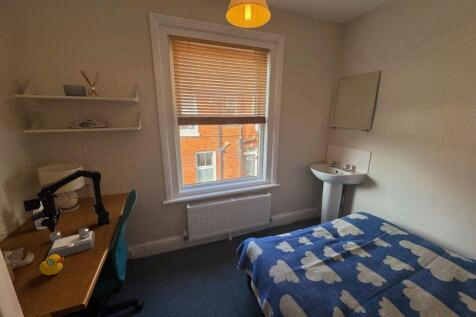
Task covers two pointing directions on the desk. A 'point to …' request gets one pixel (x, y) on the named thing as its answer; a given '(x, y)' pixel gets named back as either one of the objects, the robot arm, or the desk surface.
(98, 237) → the desk surface
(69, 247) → the scale
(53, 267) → the duckling
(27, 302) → the desk surface
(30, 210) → the robot arm
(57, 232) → the cylinder
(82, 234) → the cylinder
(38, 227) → the bath foam
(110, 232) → the desk surface
